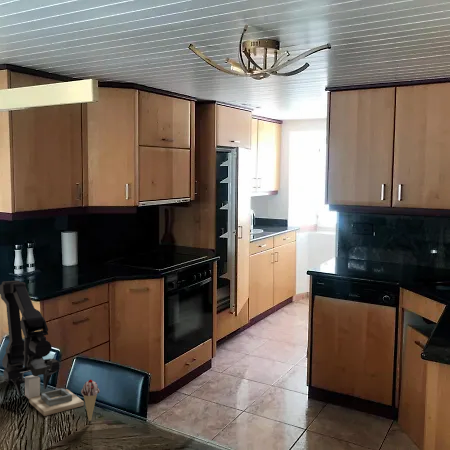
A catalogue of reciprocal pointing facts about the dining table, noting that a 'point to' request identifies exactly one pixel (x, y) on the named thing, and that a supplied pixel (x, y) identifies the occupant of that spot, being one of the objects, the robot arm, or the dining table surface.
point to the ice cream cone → (90, 396)
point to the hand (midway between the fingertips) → (32, 391)
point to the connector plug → (32, 386)
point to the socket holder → (55, 401)
